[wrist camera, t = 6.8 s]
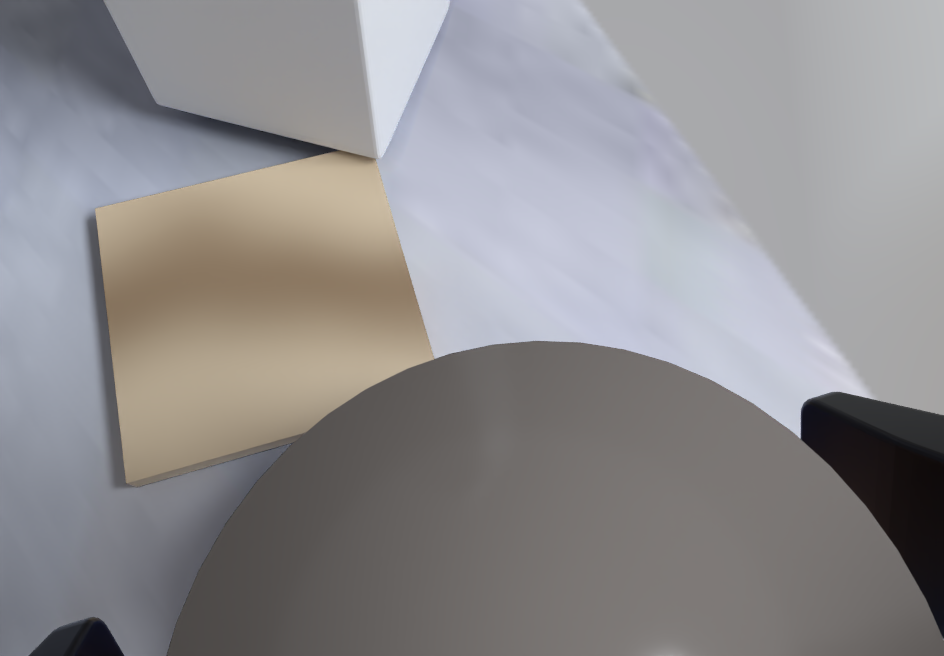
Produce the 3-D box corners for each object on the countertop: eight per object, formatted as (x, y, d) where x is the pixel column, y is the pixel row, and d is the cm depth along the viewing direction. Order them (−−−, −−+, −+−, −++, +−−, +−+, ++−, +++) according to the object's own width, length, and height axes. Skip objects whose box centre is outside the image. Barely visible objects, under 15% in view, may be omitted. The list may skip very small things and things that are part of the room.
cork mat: (445, 399, 18) (444, 392, 17) (137, 487, 17) (126, 483, 16) (373, 154, 21) (370, 142, 20) (105, 219, 20) (95, 208, 19)
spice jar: (626, 707, 14) (1175, 1093, 3) (417, 780, 14) (213, 1542, 3) (555, 495, 16) (759, 267, 5) (365, 554, 16) (103, 449, 4)
